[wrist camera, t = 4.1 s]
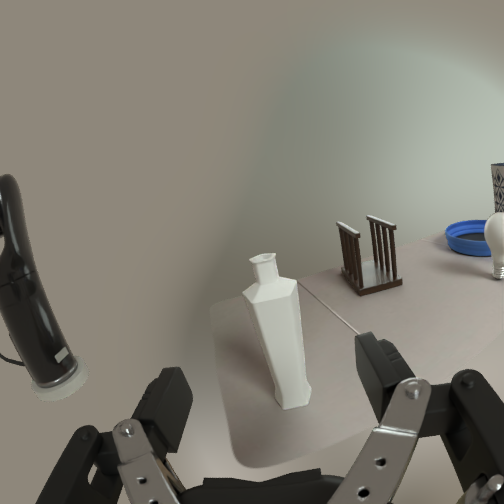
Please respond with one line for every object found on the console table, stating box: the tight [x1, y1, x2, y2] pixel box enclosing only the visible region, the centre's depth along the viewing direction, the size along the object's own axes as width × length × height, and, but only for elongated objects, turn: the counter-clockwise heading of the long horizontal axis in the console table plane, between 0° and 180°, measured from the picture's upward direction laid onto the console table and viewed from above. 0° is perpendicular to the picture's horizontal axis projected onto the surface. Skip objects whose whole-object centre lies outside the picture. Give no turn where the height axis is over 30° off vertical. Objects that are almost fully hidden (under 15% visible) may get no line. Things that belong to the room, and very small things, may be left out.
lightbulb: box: [484, 212, 504, 279], centre depth 30 cm, size 6×6×11 cm
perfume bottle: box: [243, 253, 312, 410], centre depth 24 cm, size 5×4×15 cm
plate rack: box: [336, 215, 402, 296], centre depth 47 cm, size 12×8×10 cm, turn 177°
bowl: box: [445, 220, 492, 256], centre depth 46 cm, size 18×18×4 cm
